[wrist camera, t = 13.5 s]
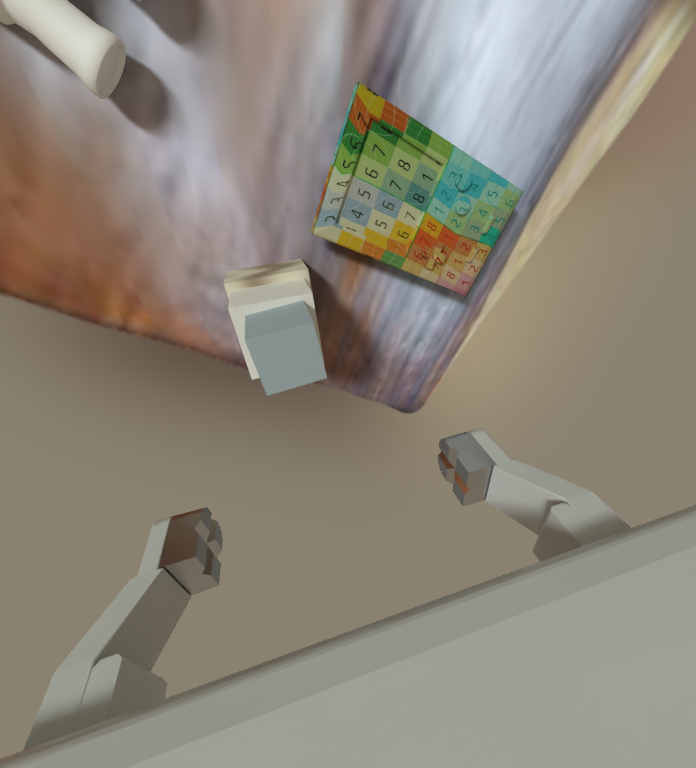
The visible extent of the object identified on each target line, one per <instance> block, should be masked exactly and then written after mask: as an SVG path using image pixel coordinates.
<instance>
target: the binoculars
mask: <svg viewBox="0 0 696 768" xmlns="http://www.w3.org/2000/svg"><path fill="white" fill-rule="evenodd" d="M137 1H142V0H137ZM0 22H1V23H3V24H5V25H11V24H17V25H19V26H20V27H22V28H23V29H25V30H26V31H28V32H30V33H31V34H33V35H34V36H36V37H37V38H38V39H39V40H40V41H41V42H42V43H43V44H44V45H45V46H46V47H47V48H48V49H49V50H50V51H51V52H52V53H54V54H55V55H56V56H57V57H58V58H59V59H60V60H61V61H62V62H63V63H65V64H66V65H67V66H68V67H69V68H70V69H71V70H72V71H73V72H74V73H76V74H77V75H78V76H79V78H80V79H81V80H82V81H83V83H84V84H85V85H86V86H87V87H88V88H89V89H90V91H91V92H92V93H94V94H95V95H97V96H98V97H99V98H102V99H103V98H106V97H108V96H109V95H110V94H111V93H112V92H113V91H114V89H115V88H116V86H117V84H118V83H119V81H120V78H121V76H122V73H123V70H124V65H125V60H126V48H125V45H124V43H123V42H122V41H121V40H120V39H119V38H118V37H117V36H116V35H115V34H114V33H112V32H110V31H109V30H107V29H105V28H103V27H101V26H99V25H98V24H96V23H95V22H94V21H93V20H91V19H90V18H89V17H88V16H86V15H85V14H84V13H83V12H81V11H80V10H79V9H78V8H76V7H75V6H74V5H73V4H71V3H70V2H69V1H68V0H0Z"/></svg>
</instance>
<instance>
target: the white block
mask: <svg viewBox="0 0 696 768" xmlns="http://www.w3.org/2000/svg"><path fill="white" fill-rule="evenodd" d="M299 301H304V303H305V305H306V307H307V310H308V312H309V314H310V316H311V318H312V320H313V323H314V327H315V331H316V335H317V339H318V343H319V347H320V351H321V355H322V359H323V353H322V347H321V341H320V335H319V329H318V323H317V317H316V311H315V306H314V300H313V294H312V291H311V290H310V288H309V286H308V284H307V283H306V281H305V279H304V278H300V279H295V280H289V281H284V282H278V283H272V284H267V285H261V286H256V287H250V288H244V289H239V290H233V291H231V292H230V299H229V306H228V310H229V313H230V316H231V319H232V322H233V325H234V328H235V331H236V334H237V336H238V339H239V342H240V345H241V348H242V351H243V354H244V357H245V360H246V363H247V366H248V369H249V372H250V375H251V378H252V379H256V378H260V377H259V374H258V372H257V370H256V367H255V365H254V362H253V360H252V357H251V355H250V352H249V350H248V347H247V345H246V342H245V315H249V314H253V313H257V312H260V311H264V310H268V309H272V308H276V307H280V306H284V305H287V304H291V303H295V302H299ZM323 363H324V359H323Z"/></svg>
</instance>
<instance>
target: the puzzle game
mask: <svg viewBox="0 0 696 768" xmlns="http://www.w3.org/2000/svg"><path fill="white" fill-rule="evenodd" d="M522 194H523V191H522V190H521V189H519V188H518V187H516V186H515V185H513V184H512V183H510V182H508V181H507V180H505V179H504V178H502V177H501V176H499V175H498V174H496V173H495V172H493V171H492V170H490V169H489V168H487V167H486V166H484V165H483V164H481V163H480V162H478V161H477V160H475V159H474V158H472V157H471V156H469V155H468V154H466V153H465V152H463V151H462V150H460V149H459V148H457V147H456V146H454V145H453V144H451V143H450V142H448V141H447V140H445V139H444V138H442V137H441V136H439V135H438V134H436V133H435V132H433V131H432V130H430V129H429V128H427V127H426V126H424V125H422V124H421V123H419V122H418V121H416V120H415V119H413V118H412V117H410V116H409V115H407V114H406V113H404V112H403V111H401V110H400V109H398V108H397V107H395V106H394V105H392V104H391V103H389V102H388V101H386V100H385V99H383V98H382V97H380V96H379V95H377V94H376V93H374V92H373V91H371V90H370V89H368V88H367V87H365V86H364V85H362V84H361V83H359V82H358V83H357V84H356V85H355V87H354V90H353V94H352V97H351V100H350V104H349V107H348V110H347V114H346V117H345V120H344V124H343V127H342V130H341V133H340V137H339V140H338V143H337V147H336V150H335V153H334V157H333V160H332V163H331V167H330V170H329V173H328V177H327V180H326V183H325V187H324V190H323V193H322V197H321V200H320V203H319V206H318V210H317V213H316V216H315V220H314V223H313V226H312V230H311V233H312V234H314V235H316V236H319V237H321V238H324V239H326V240H329V241H331V242H334V243H336V244H339V245H341V246H343V247H346V248H348V249H351V250H353V251H356V252H358V253H361V254H363V255H366V256H368V257H371V258H373V259H375V260H378V261H380V262H383V263H385V264H388V265H390V266H393V267H395V268H398V269H400V270H402V271H405V272H407V273H410V274H412V275H415V276H417V277H420V278H422V279H425V280H427V281H430V282H432V283H434V284H437V285H439V286H442V287H444V288H447V289H449V290H452V291H454V292H457V293H459V294H462V295H464V296H466V295H467V293H468V292H469V290H470V288H471V286H472V284H473V283H474V281H475V279H476V277H477V275H478V273H479V272H480V270H481V268H482V266H483V264H484V263H485V261H486V259H487V257H488V255H489V254H490V252H491V250H492V248H493V246H494V244H495V243H496V241H497V239H498V237H499V235H500V234H501V232H502V230H503V228H504V226H505V225H506V223H507V221H508V219H509V217H510V215H511V214H512V212H513V210H514V208H515V206H516V205H517V203H518V201H519V199H520V197H521V196H522Z"/></svg>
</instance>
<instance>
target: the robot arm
mask: <svg viewBox="0 0 696 768" xmlns="http://www.w3.org/2000/svg"><path fill="white" fill-rule="evenodd" d="M439 448H440V449H441V453H440V454H439V455H438V463H439V467H440V470H441V472H442V475H443V476H444V478H445V479H446V481H448V482H450V483H452V484H453V492H454V493H455V495H456V496H457V498H458V500H459V501H460V503H461V504H462V506H466V505H469V504H473V503H476V502H480V501H483V500H486V502H487V503H489V504H491V505H492V506H494V507H495V508H497V509H498V510H500V511H502V512H503V513H504V514H506V515H508V516H509V517H511V518H512V519H514V520H515V521H517V522H518V523H520V524H521V525H523V526H525V527H526V528H528V529H529V530H531V531H532V532H534V533H535V534H537V535H538V538H537V541H536V543H535V545H534V547H533V553H534V554H535V555H536V557H537V558H538V559H539V561H540V562H538V563H535V564H532V565H530V566H527V567H524V568H521V569H519V570H516V571H513V572H510V573H508V574H505V575H502V576H499V577H496V578H494V579H491V580H488V581H486V582H483V583H480V584H478V585H475V586H472V587H469V588H467V589H464V590H461V591H458V592H456V593H453V594H450V595H447V596H444V597H442V598H439V599H436V600H434V601H431V602H428V603H425V604H423V605H420V606H417V607H414V608H412V609H409V610H406V611H403V612H401V613H398V614H396V615H393V616H390V617H387V618H384V619H382V620H379V621H376V622H374V623H371V624H368V625H365V626H362V627H360V628H357V629H354V630H351V631H349V632H346V633H343V634H341V635H338V636H335V637H332V638H330V639H327V640H324V641H321V642H319V643H316V644H313V645H310V646H308V647H305V648H302V649H300V650H297V651H294V652H291V653H289V654H286V655H283V656H280V657H278V658H275V659H272V660H269V661H267V662H264V663H261V664H259V665H256V666H253V667H250V668H248V669H245V670H242V671H239V672H237V673H234V674H231V675H228V676H226V677H223V678H220V679H218V680H215V681H212V682H209V683H207V684H204V685H201V686H198V687H196V688H193V689H190V690H188V691H185V692H182V693H179V694H177V695H174V696H171V697H168V698H165V694H166V687H167V683H166V681H165V680H164V679H163V678H161V677H159V676H157V675H156V674H153V673H152V672H151V670H152V668H153V666H154V664H155V662H156V661H157V659H158V657H159V655H160V653H161V651H162V650H163V648H164V646H165V644H166V642H167V640H168V639H169V637H170V635H171V633H172V631H173V629H174V627H175V626H176V624H177V622H178V620H179V618H180V616H181V615H182V613H183V611H184V609H185V608H186V606H187V604H188V602H189V600H190V598H191V596H190V595H193V594H196V593H199V592H202V591H204V590H207V589H210V588H213V587H216V586H219V579H220V567H221V563H220V562H219V560H218V559H217V556H218V555H219V553H220V552H221V550H222V533H221V529H220V526H219V524H218V522H217V521H215V520H213V519H211V514H212V513H211V512H210V510H209V509H208V508H202V509H199V510H195V511H191V512H187V513H184V514H179V515H176V516H172V517H168V518H165V519H162V520H158V521H156V522H155V523H154V524H153V526H152V528H151V532H150V535H149V539H148V542H147V545H146V549H145V552H144V556H143V560H142V563H141V566H140V570H139V573H138V576H135V577H133V578H131V580H130V581H129V582H128V583H127V585H126V586H125V587H124V588H123V590H122V591H121V592H120V593H119V594H118V596H117V597H116V598H115V599H114V601H113V602H112V603H111V604H110V606H109V607H108V608H107V609H106V610H105V612H104V613H103V614H102V615H101V617H100V618H99V619H98V620H97V622H96V623H95V624H94V625H93V626H92V628H91V629H90V630H89V631H88V632H87V634H86V635H85V636H84V637H83V639H82V640H81V641H80V642H79V643H78V645H77V646H76V647H75V648H74V650H73V651H72V652H71V653H70V655H69V656H68V657H67V658H66V660H65V661H64V662H63V663H62V664H61V666H60V667H59V668H58V670H57V671H56V672H55V673H54V675H53V678H52V680H51V682H50V685H49V687H48V690H47V692H46V695H45V697H44V700H43V702H42V705H41V708H40V710H39V713H38V715H37V717H36V720H35V722H34V725H33V727H32V730H31V732H30V735H29V737H28V740H27V742H26V745H25V747H24V750H23V751H21V752H18V753H15V754H12V755H10V756H7V757H4V758H2V759H0V768H696V505H694V506H691V507H688V508H685V509H683V510H680V511H677V512H675V513H672V514H669V515H666V516H663V517H661V518H658V519H655V520H653V521H650V522H647V523H644V524H642V525H639V526H636V527H633V528H631V527H630V526H629V525H628V524H626V523H625V522H624V521H623V520H622V519H621V518H620V517H619V516H618V515H617V514H616V513H615V512H613V511H612V510H611V509H610V508H609V507H608V506H607V505H606V504H605V503H603V501H601V500H600V499H599V498H598V497H597V496H596V495H595V494H594V493H593V492H591V491H589V490H587V489H584V488H582V487H579V486H577V485H575V484H572V483H570V482H568V481H565V480H563V479H561V478H558V477H556V476H554V475H551V474H549V473H547V472H544V471H542V470H540V469H537V468H535V467H532V466H530V465H528V464H525V463H523V462H521V461H518V460H516V459H514V460H511V459H510V458H509V457H508V456H507V455H506V454H505V453H504V452H503V451H502V450H501V449H500V448H499V446H498V445H497V444H496V443H495V442H494V441H493V440H492V439H491V438H490V437H489V436H488V435H487V434H486V433H485V431H483V430H482V429H480V428H479V429H475V430H472V431H468V432H464V433H460V434H457V435H454V436H451V437H447V438H444V439H441V441H440V442H439Z"/></svg>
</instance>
